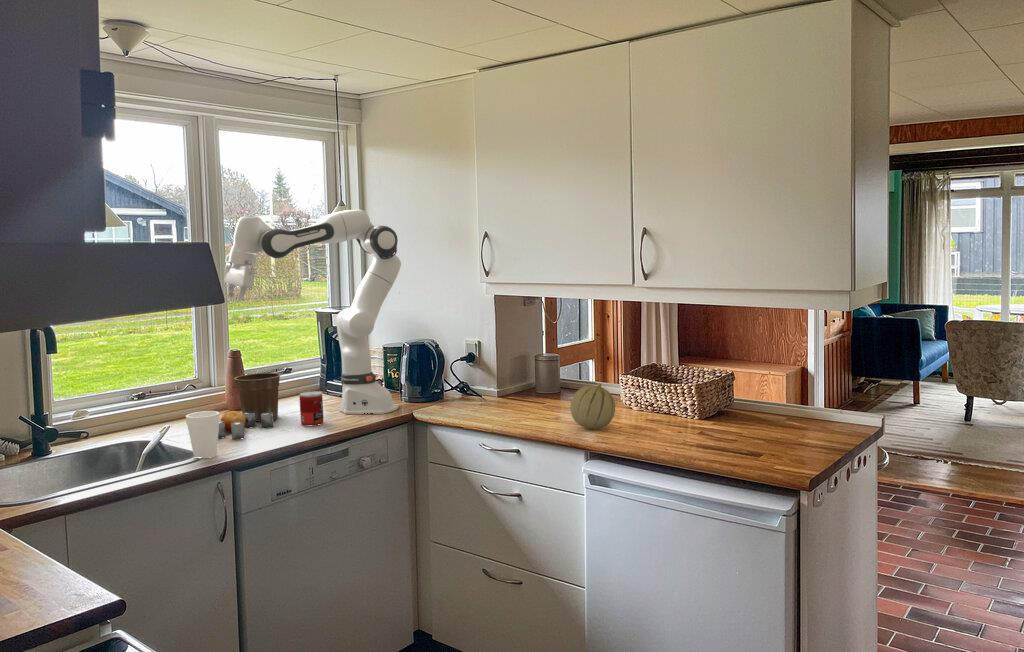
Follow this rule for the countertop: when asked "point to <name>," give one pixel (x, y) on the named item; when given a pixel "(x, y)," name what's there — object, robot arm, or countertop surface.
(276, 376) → the plant pot
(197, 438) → the foam cup
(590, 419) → the cantaloupe
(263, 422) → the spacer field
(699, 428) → the countertop surface
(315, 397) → the canned food
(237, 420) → the fruit
